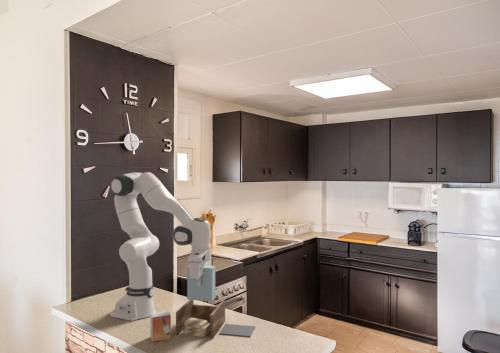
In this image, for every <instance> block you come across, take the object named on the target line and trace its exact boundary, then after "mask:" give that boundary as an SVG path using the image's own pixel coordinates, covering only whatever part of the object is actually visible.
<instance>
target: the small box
mask: <svg viewBox="0 0 500 353" xmlns="http://www.w3.org/2000/svg"><path fill="white" fill-rule="evenodd" d="M149 319H150V320H149V322H150V325H149V326H150V327H149V328H150V329H149V330H150V333H149V334H150V339H151V342H152V343H154V342H158V341H164V340H170V339H171V338H172V334H171V333H172V332H171V330H172V326H171V325H172V323H171V320H172V319H171V313H170V311H169V310H164V311H163V310H162V311H158V312H157V311H156V313H150V317H149Z"/></svg>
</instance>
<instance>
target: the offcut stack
mask: <svg viewBox="0 0 500 353" xmlns="http://www.w3.org/2000/svg"><path fill="white" fill-rule="evenodd" d="M182 334H184V335H188V336H195V337H200V338H201V337H202V338H206V337H207V336H208V335H209V334H211V329H210V322H209V321H206V320H201V319H196V318H189V319H188V320H186V321H185V328H184V329H183V331H182Z"/></svg>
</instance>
